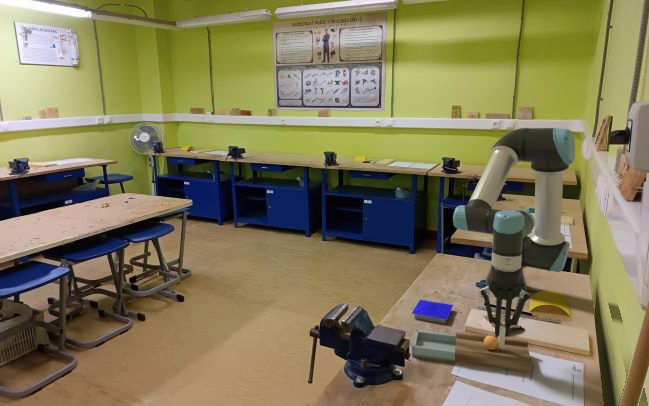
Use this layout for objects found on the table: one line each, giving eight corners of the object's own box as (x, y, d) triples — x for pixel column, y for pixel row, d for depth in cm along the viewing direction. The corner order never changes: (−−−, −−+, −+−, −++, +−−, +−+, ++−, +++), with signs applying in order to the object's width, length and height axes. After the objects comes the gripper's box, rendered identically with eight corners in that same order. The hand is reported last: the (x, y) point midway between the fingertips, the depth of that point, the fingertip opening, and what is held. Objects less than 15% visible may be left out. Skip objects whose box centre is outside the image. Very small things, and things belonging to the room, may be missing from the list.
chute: (455, 344, 135) (456, 332, 134) (526, 354, 129) (527, 341, 128) (454, 362, 126) (455, 349, 125) (531, 373, 120) (532, 359, 119)
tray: (415, 339, 139) (415, 330, 138) (455, 344, 135) (455, 335, 134) (412, 356, 129) (412, 346, 129) (454, 362, 126) (455, 352, 125)
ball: (500, 338, 127) (492, 348, 129) (488, 330, 128) (480, 340, 129) (502, 345, 124) (493, 355, 125) (489, 337, 124) (481, 347, 125)
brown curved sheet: (507, 317, 153) (507, 310, 152) (529, 330, 144) (530, 323, 143) (472, 324, 148) (472, 317, 148) (493, 339, 139) (493, 331, 138)
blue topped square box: (411, 319, 153) (411, 305, 151) (419, 305, 163) (420, 291, 162) (446, 326, 148) (447, 311, 146) (452, 311, 158) (453, 297, 157)
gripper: (481, 270, 119) (477, 349, 124) (534, 274, 115) (527, 355, 120) (480, 261, 126) (476, 336, 131) (529, 264, 122) (524, 341, 127)
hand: (501, 345), depth 126 cm, fingers closed
